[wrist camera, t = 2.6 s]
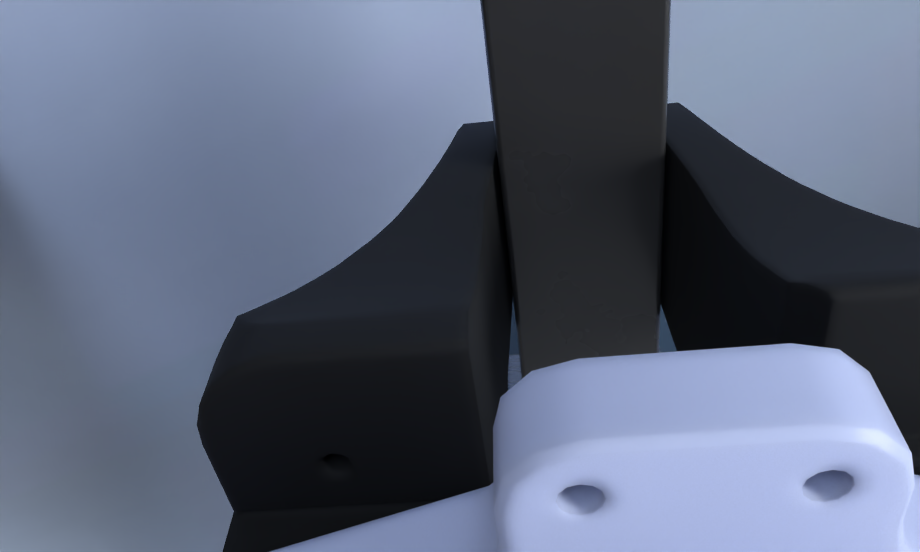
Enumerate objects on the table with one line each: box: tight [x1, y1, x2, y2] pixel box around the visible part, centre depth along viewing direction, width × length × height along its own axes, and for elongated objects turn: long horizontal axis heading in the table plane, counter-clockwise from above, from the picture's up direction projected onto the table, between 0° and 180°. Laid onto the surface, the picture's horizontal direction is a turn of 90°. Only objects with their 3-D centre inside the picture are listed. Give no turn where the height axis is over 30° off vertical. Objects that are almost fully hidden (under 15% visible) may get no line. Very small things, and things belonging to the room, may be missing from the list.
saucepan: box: [480, 0, 677, 390], centre depth 17 cm, size 20×11×6 cm, turn 7°
